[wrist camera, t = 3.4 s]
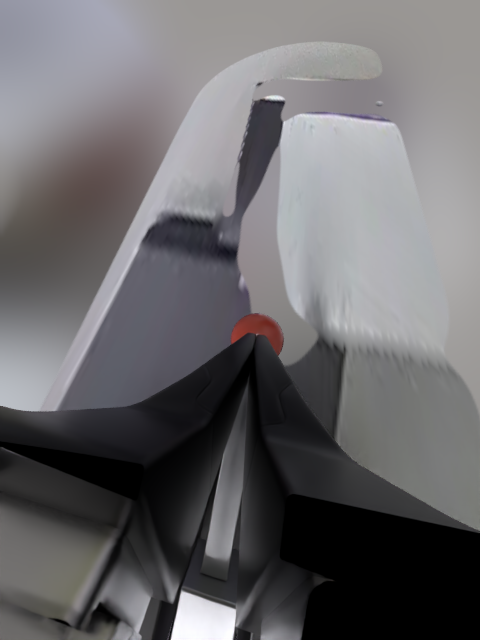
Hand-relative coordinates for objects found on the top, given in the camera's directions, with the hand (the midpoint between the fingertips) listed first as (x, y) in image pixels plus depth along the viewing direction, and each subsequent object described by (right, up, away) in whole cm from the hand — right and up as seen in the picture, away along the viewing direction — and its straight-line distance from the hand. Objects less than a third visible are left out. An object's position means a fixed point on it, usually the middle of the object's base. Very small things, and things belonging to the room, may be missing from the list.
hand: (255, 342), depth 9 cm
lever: (-1, -6, +1) cm, 6 cm away
